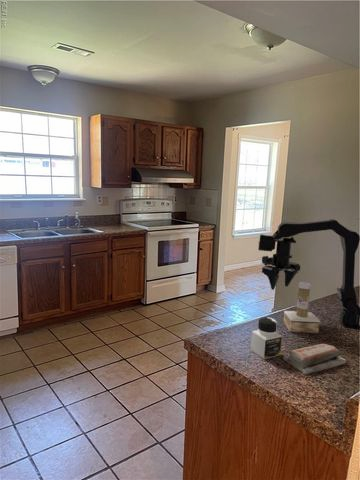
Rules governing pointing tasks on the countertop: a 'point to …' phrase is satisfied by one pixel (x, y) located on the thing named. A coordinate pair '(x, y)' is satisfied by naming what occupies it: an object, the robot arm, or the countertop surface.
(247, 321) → the countertop surface
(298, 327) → the box
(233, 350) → the countertop surface
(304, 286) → the sprinkles bottle
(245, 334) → the countertop surface
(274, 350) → the medicine bottle
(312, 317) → the lid
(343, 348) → the countertop surface
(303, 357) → the packaged product
